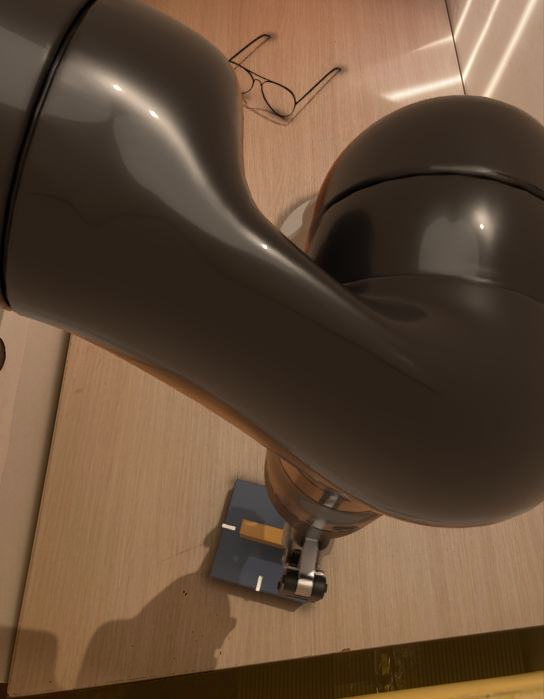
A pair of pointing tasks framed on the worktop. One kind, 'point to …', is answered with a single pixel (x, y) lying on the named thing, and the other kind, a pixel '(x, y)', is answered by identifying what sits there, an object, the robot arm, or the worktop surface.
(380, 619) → the worktop surface
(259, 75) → the glasses
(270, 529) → the orange wooden bar
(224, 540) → the plate
